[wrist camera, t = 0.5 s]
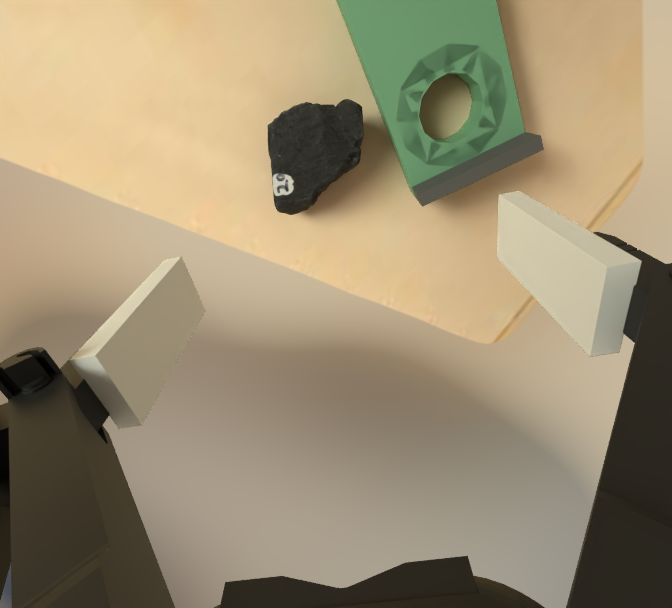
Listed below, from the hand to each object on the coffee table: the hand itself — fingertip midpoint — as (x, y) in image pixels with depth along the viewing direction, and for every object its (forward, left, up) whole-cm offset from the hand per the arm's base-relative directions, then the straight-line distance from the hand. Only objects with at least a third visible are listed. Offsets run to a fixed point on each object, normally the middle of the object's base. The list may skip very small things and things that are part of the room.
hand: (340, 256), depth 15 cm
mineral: (-2, -2, -26) cm, 26 cm away
